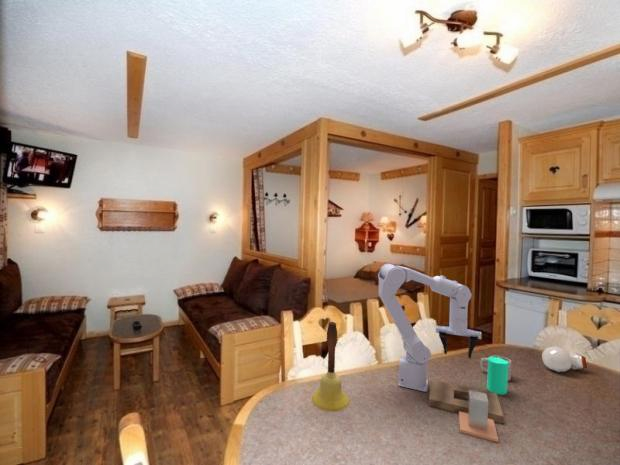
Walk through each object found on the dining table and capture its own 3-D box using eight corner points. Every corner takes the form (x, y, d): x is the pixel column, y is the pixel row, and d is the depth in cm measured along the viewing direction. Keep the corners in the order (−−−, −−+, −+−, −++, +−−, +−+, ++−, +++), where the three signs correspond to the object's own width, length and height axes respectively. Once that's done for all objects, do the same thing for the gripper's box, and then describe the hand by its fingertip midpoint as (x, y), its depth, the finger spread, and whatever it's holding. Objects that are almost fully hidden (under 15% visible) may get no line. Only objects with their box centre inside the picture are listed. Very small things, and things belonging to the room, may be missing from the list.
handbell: (342, 387, 106) (343, 315, 105) (355, 408, 94) (357, 327, 93) (307, 391, 103) (309, 317, 102) (316, 413, 91) (318, 330, 90)
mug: (510, 375, 117) (511, 358, 117) (510, 382, 111) (511, 364, 111) (480, 368, 122) (481, 351, 122) (479, 375, 117) (480, 357, 117)
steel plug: (468, 425, 86) (469, 397, 85) (467, 416, 90) (468, 389, 89) (487, 430, 84) (488, 402, 83) (485, 421, 88) (486, 393, 88)
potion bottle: (540, 372, 122) (573, 376, 124) (560, 368, 114) (596, 371, 116) (532, 348, 128) (564, 352, 129) (551, 342, 120) (585, 346, 121)
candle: (510, 395, 103) (511, 360, 102) (490, 393, 104) (492, 358, 104) (502, 386, 109) (504, 353, 108) (484, 384, 110) (485, 351, 109)
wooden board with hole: (428, 405, 96) (429, 398, 96) (430, 385, 108) (431, 379, 108) (503, 423, 88) (503, 416, 88) (496, 400, 100) (496, 393, 100)
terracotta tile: (459, 432, 84) (460, 429, 84) (458, 413, 92) (458, 411, 92) (498, 442, 80) (498, 439, 80) (493, 422, 89) (493, 419, 89)
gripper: (435, 317, 108) (435, 355, 109) (482, 323, 102) (481, 363, 103) (436, 312, 115) (435, 348, 115) (480, 317, 109) (479, 355, 109)
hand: (457, 355), depth 110 cm, fingers open, 7 cm apart
